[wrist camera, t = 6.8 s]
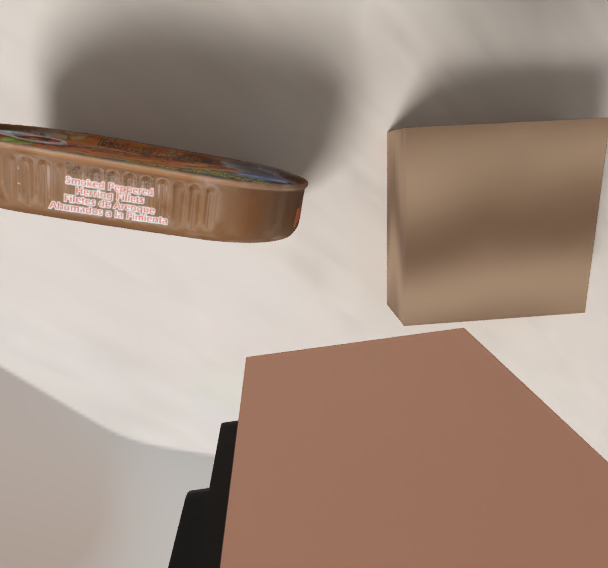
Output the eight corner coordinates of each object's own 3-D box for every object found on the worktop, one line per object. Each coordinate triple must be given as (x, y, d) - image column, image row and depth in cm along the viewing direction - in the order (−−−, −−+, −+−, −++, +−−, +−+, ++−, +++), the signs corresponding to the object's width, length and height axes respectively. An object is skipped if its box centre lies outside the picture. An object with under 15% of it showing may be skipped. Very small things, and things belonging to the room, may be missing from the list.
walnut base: (385, 132, 25) (406, 127, 21) (558, 123, 25) (610, 117, 22) (385, 302, 28) (404, 325, 24) (541, 291, 28) (584, 312, 24)
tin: (303, 171, 25) (318, 178, 17) (293, 227, 26) (304, 259, 17) (18, 120, 23) (-119, 101, 15) (17, 182, 24) (-113, 195, 16)
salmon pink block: (246, 357, 10) (211, 636, 4) (463, 327, 10) (710, 558, 4) (276, 531, 12) (280, 910, 6) (465, 503, 12) (652, 845, 6)
